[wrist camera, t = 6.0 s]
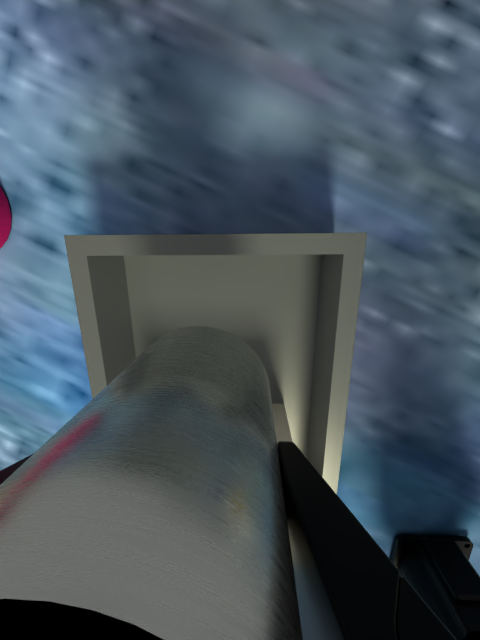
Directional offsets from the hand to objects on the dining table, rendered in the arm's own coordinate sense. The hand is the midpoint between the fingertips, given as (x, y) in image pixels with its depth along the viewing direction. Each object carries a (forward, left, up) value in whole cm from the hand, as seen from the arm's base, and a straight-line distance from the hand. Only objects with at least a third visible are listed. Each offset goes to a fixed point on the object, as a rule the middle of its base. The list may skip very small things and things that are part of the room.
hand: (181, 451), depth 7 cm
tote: (-5, 0, -13) cm, 14 cm away
